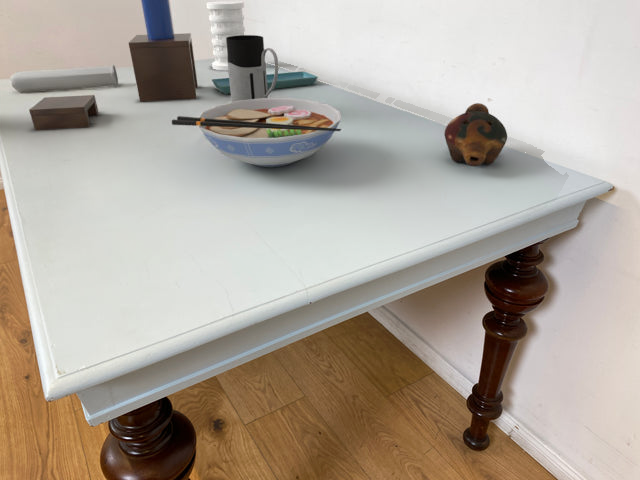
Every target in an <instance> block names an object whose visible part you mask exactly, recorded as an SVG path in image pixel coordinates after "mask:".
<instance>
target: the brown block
mask: <svg viewBox="0 0 640 480" xmlns="http://www.w3.org/2000/svg"><path fill="white" fill-rule="evenodd" d="M193 47H194V45H193V41H192V33H190V32H188V33H187V32H186V33H174V38H171V39H160V40H154V39H148V36H147V34H136V35H135V36H134V37H133V38H132V39H131V40H130V41H129V42H128V49H129V52H130V57H131V61H132V62H131V63H132V67H133V73H134V77H135V84H136V88H137V93H138V99H139V102H140V103H142V102H163V101H180V100H196V99H197V96H198V95H197V89H198V88H199V84H198V77H197V70H196V69H197V68H196V62H195V55H194V48H193Z"/></svg>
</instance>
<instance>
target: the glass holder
mask: <svg viewBox="0 0 640 480" xmlns="http://www.w3.org/2000/svg"><path fill="white" fill-rule="evenodd" d="M226 42H227V53H228V56H227V61H228V71H227V72H228V78H229V81H230V91H231V93H230V103H231V102H235V101H240V100H250V99H260V98H269V96H270V94H271V93H272V92H273V91H274V90H275V89H274V87H275V84H276V81H277V77H278V73H279V60H278V59H279V58H278V55H277V53H276V51H275V50H274V48H270V47H266V48H265V44H264V43H265V42H264V37H263V36H261V35H257V34H256V35H255V34H253V35H252V34H244V35H239V36H231V37H227V38H226ZM268 51H269V52H270V53H271V55H272V56H273V59H274V60H273V61H274V73H273V74H274V79H273V83H272V86H271V88H270V89H267V76H266V75H267V64H266V54H267V52H268Z"/></svg>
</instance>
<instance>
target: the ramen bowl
mask: <svg viewBox="0 0 640 480" xmlns="http://www.w3.org/2000/svg"><path fill="white" fill-rule="evenodd" d="M341 117H342V116H341V111H340V110H338V109H337V108H336V107H334V106H332V105H330V104H327V103H324V102H320V101H316V100H311V99H302V98H301V99H300V98H291V97H268V98H260V99H250V100H240V101H235V102H231V101H230V102H226V103H223V104H218V105H215V106H213V107H210V108H208V109H206V110H203V111H201V112H200V114H199V115H198V116H197V117H194V116H181V115H179V116H177V117H176V119H172V120H171V125H172V126H191V127H192V126H194V127H195V126H196V127H197V126H198V127H199V129H200V131H201V132H202V134H203V136H204V137H205V138H206V140H208V142H210V144H211V145H212V147H214V148H215V149H216V150H217V151H218V152H219V153H221V154H222V155H224V156H226V157H229V158H230V159H233V160H235V161H238V162H240V163H245V164H249V165H250V164H251V165H254V166H256V167H260V168H280V167H284V166H286V165H290V164H291V163H294V162H297V161H300V160H302V159H306V158H308V157H310V156H312V155H313V154H315V153H316V152H317V151H318V150H320V149H321V148H322V147H324V146H325V145H326V143H328V141H329V140H330V139H331V138H332V137H333V135H334V133H335V132H341V131H342V128H338V127H339V125H340V122H341V120H342V118H341Z"/></svg>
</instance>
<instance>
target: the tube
mask: <svg viewBox="0 0 640 480" xmlns="http://www.w3.org/2000/svg"><path fill="white" fill-rule="evenodd" d="M10 82H11V87H12V88H13V89H14V90H15V91H17V92H19V93H34V92H47V91H62V90H73V89H75V90H76V89H88V88H103V87H118V86H119V77H118V73H117V69H116V66H115V64H111V65H104V66H88V67H73V68H72V67H71V68H58V69H56V68H55V69H44V70H43V69H42V70H28V71H27V70H25V71H16V72H15V73H13V74H12V75H10Z"/></svg>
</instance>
